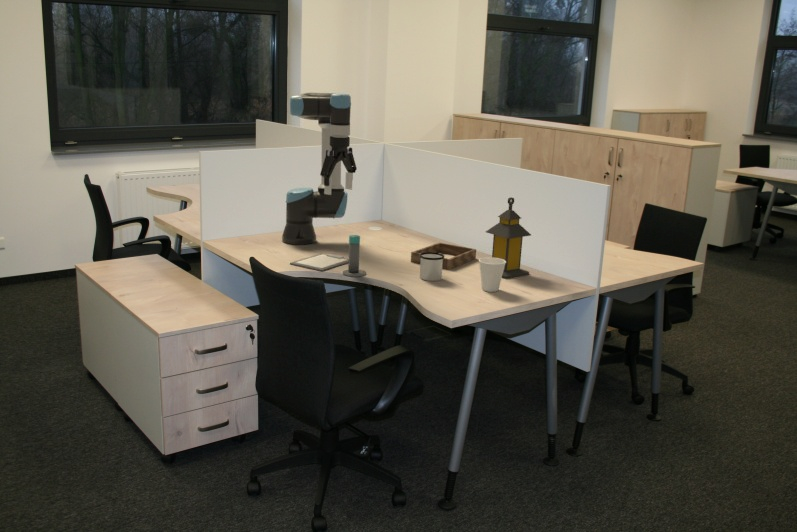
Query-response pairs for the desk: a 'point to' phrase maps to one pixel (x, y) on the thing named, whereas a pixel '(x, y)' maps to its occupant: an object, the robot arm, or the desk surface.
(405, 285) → the desk surface
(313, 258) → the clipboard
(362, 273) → the coaster
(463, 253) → the wooden frame
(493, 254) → the lantern
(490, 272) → the cup
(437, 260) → the mug
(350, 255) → the marker
